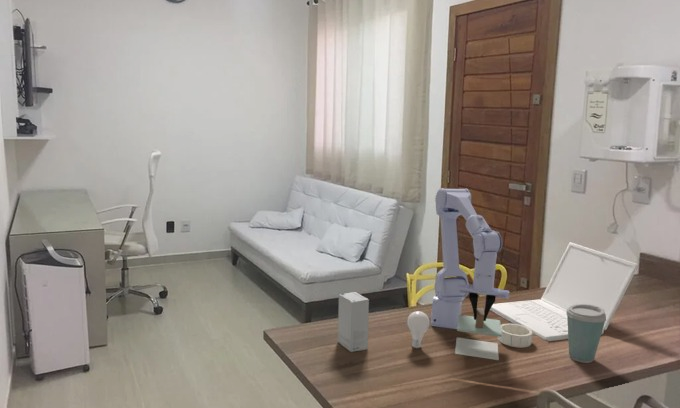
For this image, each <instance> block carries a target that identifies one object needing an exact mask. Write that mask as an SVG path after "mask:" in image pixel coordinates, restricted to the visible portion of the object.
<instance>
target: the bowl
mask: <svg viewBox="0 0 680 408" xmlns="http://www.w3.org/2000/svg"><path fill="white" fill-rule="evenodd" d="M501 334H502V336H501V337H497V340H498V342H500V343H501V344H503V345H505V346H508V347H512V348H513V347H514V348H528V347H530V346H531V345H532V340H533V333H532V330H530V329H529V328H527V327H525V326H522V325H518V324H513V323H511V322H510V323H502V324H501Z"/></svg>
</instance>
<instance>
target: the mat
mask: <svg viewBox="0 0 680 408" xmlns="http://www.w3.org/2000/svg"><path fill="white" fill-rule="evenodd" d="M454 350H455V351H454V354H455V355H460V356H462V355H463V356H469V357H473V358H474V357H475V358H483V359H488V360H493V361H494V360H495V361H500V360H499V344H498V342H490V341H484V340H483V341H482V340H477V339H470V338H464V337H456V342H455V348H454Z"/></svg>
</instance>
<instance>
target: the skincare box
mask: <svg viewBox="0 0 680 408" xmlns="http://www.w3.org/2000/svg"><path fill="white" fill-rule="evenodd" d="M369 306H370V299H368V298H367V297H366V296H363V295H361V294H359V292H356V291H352V292H346V293H340V294H338V314H337V315H338V319H337V320H338V324H337V327H338V328H337V329H338V330H337V342H338V343H339V344H340V345H341V346H343V348H345V349H346V350H348V351H349V352H350V353H354V352H361V351H366V350H368V348H369V317H370V316H369V309H370V308H369Z"/></svg>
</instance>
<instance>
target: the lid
mask: <svg viewBox="0 0 680 408" xmlns="http://www.w3.org/2000/svg"><path fill="white" fill-rule="evenodd" d="M484 310H485V307H478V306H477V318H476V320H474V316H473V315H471V316H470V315H464V314H463V315H462V314H461V315H459V318H458V328H457V329H456V331H457V332H463V333H470V334H476V335H485V336H492V337H497V338H498V337H501V336H502V334H501V325H502V324H501V319H495V318H486V321H484Z"/></svg>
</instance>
